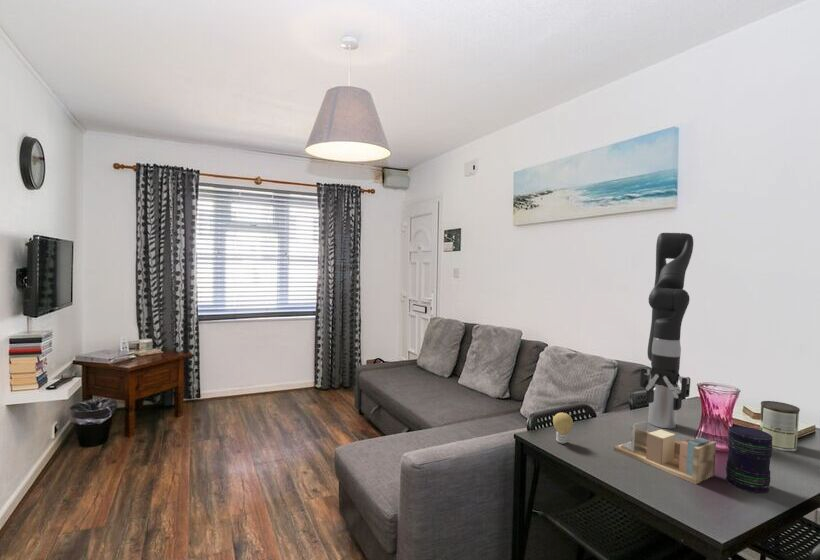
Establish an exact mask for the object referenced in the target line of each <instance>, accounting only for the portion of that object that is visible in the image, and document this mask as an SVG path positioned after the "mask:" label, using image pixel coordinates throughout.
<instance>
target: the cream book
mask: <svg viewBox="0 0 820 560" xmlns="http://www.w3.org/2000/svg"><path fill="white" fill-rule="evenodd" d="M675 440H676V433H673V432H669V431H666V430H664V429H657V430H654V431H651V432H650V433H648V434H647V453H646V459H648V460H650V461H653V462H655V463H658V464H660V465H662V464H664V463H667V462H670V461H672V460H674V450H675Z"/></svg>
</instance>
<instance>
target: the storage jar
mask: <svg viewBox="0 0 820 560" xmlns="http://www.w3.org/2000/svg"><path fill="white" fill-rule="evenodd" d="M772 439H773V437H772V436H771V435H770V434H768V433H766V432H764V431H761V430H760V429H757V428H754V427H749V426H741V425H732V426H729V427H728V435H727V444H726V445H727V448H728V452H727V453H728V454H727V460H726V466H725V471H726V472H725V481H726V483H728V484H729V485H730V486H732V487H734V488H736V489H738V490H740V491H741V490H742V491H745V492H747V493H752V494H759V495H763V494H764V495H765V494H768V493H769V492H770V484H771V478H772V477H771V470H770V469H771V467H770V464H771V458H772V455H773V448H772Z"/></svg>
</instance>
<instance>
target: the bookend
mask: <svg viewBox="0 0 820 560" xmlns="http://www.w3.org/2000/svg"><path fill="white" fill-rule="evenodd" d="M648 423H649V422H648V420H642V421H638V422H635V423H632V427H633V430H632V429H631V430H632V442H631V441H629V442H630V443H628V442H625V443H626V444H624V443H622V444H623V445H621V444H620V445H621V447H622V448H624V449H627V450H629V451H631V452H637V451H640V450H643V449H646V440H647V432H648Z"/></svg>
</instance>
